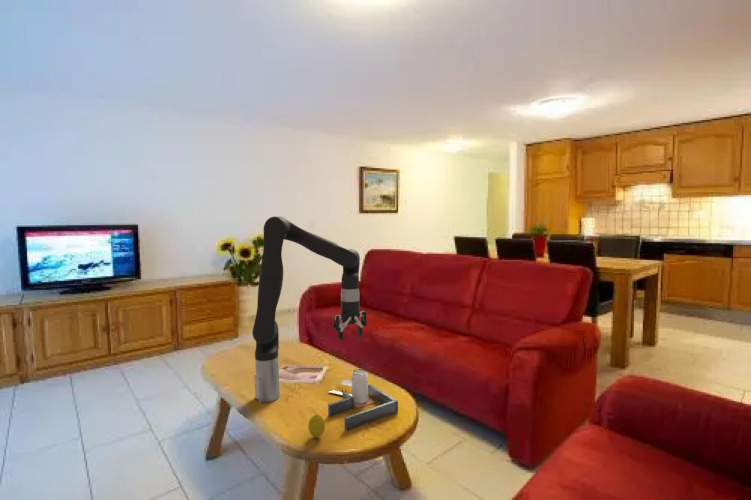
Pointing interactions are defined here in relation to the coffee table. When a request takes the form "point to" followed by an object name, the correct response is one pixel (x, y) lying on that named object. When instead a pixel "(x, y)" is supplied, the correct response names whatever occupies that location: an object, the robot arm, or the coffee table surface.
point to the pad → (364, 403)
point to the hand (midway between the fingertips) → (350, 338)
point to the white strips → (345, 382)
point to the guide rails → (368, 415)
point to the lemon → (316, 425)
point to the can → (360, 386)
